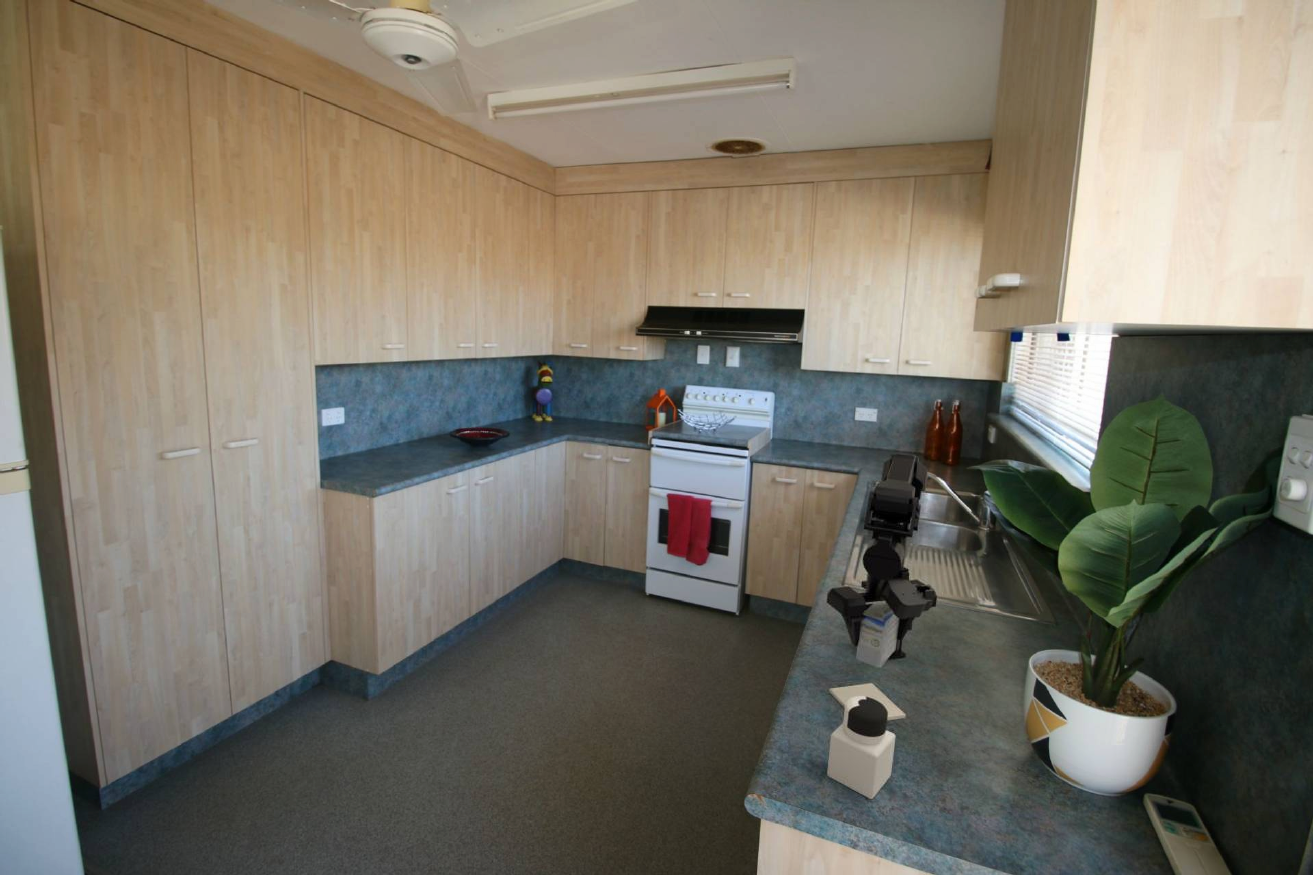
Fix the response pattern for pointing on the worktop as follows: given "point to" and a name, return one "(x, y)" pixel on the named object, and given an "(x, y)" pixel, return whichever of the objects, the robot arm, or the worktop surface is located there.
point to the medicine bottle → (862, 747)
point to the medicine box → (877, 635)
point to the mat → (868, 691)
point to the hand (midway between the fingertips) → (877, 642)
